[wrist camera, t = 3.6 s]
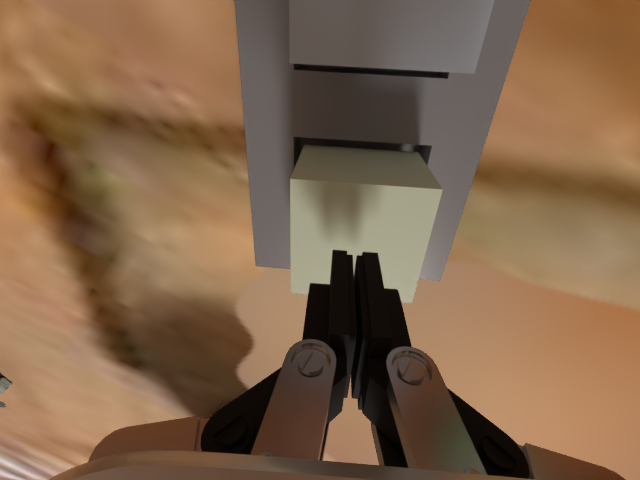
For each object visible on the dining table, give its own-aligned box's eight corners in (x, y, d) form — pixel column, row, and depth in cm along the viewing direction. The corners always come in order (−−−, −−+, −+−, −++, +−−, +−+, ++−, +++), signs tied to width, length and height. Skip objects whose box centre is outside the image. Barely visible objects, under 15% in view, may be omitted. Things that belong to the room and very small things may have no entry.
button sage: (418, 152, 16) (442, 189, 12) (397, 247, 20) (411, 303, 15) (304, 144, 17) (290, 179, 12) (302, 240, 20) (290, 292, 16)
